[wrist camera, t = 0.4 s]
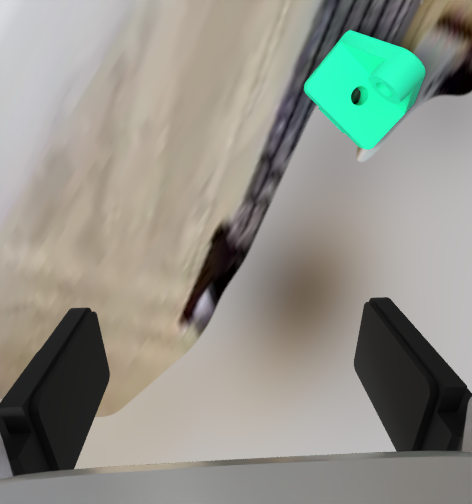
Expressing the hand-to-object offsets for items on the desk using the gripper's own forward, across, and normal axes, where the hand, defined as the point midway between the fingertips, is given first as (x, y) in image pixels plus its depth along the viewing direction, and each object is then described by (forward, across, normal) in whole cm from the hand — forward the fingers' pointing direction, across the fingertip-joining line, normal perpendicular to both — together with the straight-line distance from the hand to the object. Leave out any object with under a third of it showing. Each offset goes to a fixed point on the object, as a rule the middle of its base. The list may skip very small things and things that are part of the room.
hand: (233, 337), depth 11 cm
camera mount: (+37, -17, -8) cm, 42 cm away
